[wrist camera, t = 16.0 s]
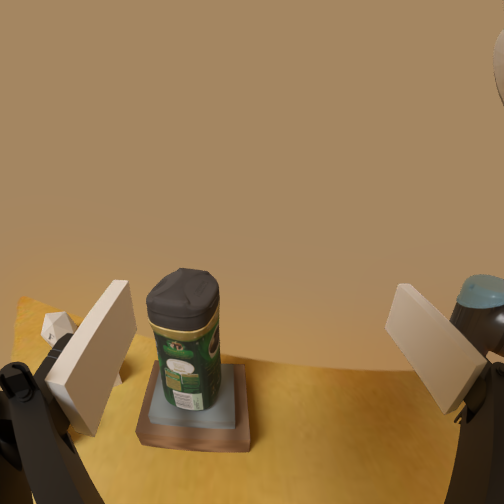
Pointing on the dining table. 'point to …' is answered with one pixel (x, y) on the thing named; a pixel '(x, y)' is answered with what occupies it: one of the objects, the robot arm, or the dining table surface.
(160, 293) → the coffee jar
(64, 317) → the die
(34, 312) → the dining table surface
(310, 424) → the dining table surface
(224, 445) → the tower stand
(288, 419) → the dining table surface
